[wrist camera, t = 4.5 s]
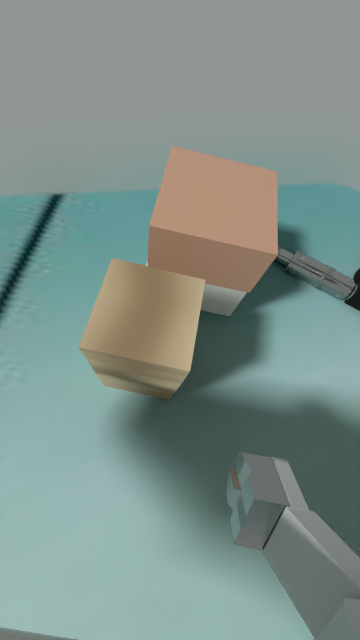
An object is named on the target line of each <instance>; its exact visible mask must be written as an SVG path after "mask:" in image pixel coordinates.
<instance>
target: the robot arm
mask: <svg viewBox="0 0 360 640" xmlns="http://www.w3.org/2000/svg"><path fill="white" fill-rule="evenodd" d="M234 460H235V465H236V467H234V468H232V469H231V470H230V472H229V475H228V478H227V486H226V494H227V502H228V505H229V506H230V507H231V509H232V510H233V512H232V515H231V517H230V523H231V529H232V536H233V542H234V544H236V545H241V546H246V547H250V548H255V549H259V550H263V554H264V555H265V557H266V559H267V560H268V562H269V564H270V565H271V567H272V569H273V570H274V572H275V574H276V575H277V577H278V579H279V580H280V582H281V584H282V585H283V587H284V589H285V590H286V592H287V593H288V595H289V597H290V598H291V600H292V602H293V603H294V605H295V607H296V608H297V610H298V612H299V613H300V615H301V617H302V618H303V620H304V622H305V623H306V625H307V627H308V628H309V630H310V632H311V633H312V635H313V637H314V638H315V639H314V640H360V558H359V557H358V556H357V555H356V554H355V553H354V552H353V550H352V549H351V548H350V547H349V546H348V545H347V544H346V543H345V542H344V541H343V540H342V539H341V538H340V537H339V536H338V535H337V534H336V533H335V532H334V531H333V530H332V529H331V528H330V527H329V526H328V525H327V524H326V523H325V522H324V521H323V520H322V519H321V518H320V517H319V516H318V515H317V514H316V513H315V512H314V511H310V510H309V508H308V506H307V503H306V501H305V499H304V497H303V494H302V492H301V490H300V488H299V485H298V483H297V481H296V478H295V476H294V474H293V472H292V469H291V467H290V465H289V463H288V461H287V460H286V459H282V458H276V457H271V456H270V457H269V456H265V455H260V454H254V453H249V452H244V451H239V452H238V453H237V454H236V457H235V459H234ZM0 640H76V639H70V638H64V637H57V636H51V635H45V634H39V633H32V632H26V631H20V630H14V629H8V628H1V627H0Z"/></svg>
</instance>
